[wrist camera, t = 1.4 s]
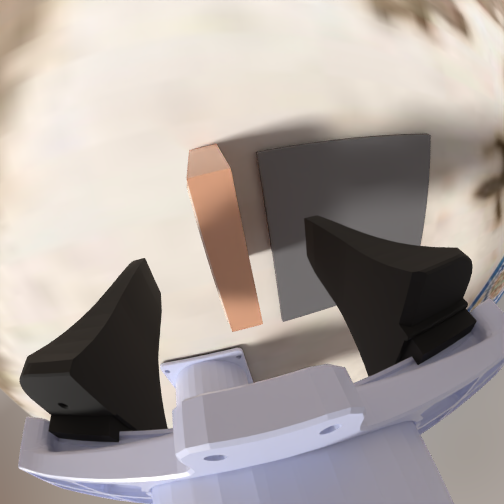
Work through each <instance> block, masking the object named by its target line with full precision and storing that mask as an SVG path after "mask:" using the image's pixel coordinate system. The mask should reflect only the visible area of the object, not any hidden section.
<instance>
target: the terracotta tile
mask: <svg viewBox="0 0 504 504" xmlns="http://www.w3.org/2000/svg"><path fill="white" fill-rule="evenodd" d="M187 190H188V193H189V197H190V201H191V204H192V208H193V211H194V215H195V218H196V222H197V225H198V229H199V232H200V236H201V239H202V242H203V246H204V249H205V252H206V256H207V259H208V262H209V265H210V269H211V272H212V275H213V278H214V281H215V285H216V288H217V291H218V294H219V297H220V300H221V303H222V306H223V309H224V312H225V315H226V318H227V321H228V322H229V323H230V326H231V329H232V332H234V331H238V330H242V329H246V328H250V327H254V326H257V325H261V324H263V322H262V317H261V312H260V308H259V303H258V298H257V293H256V288H255V284H254V279H253V274H252V269H251V265H250V260H249V255H248V250H247V245H246V240H245V236H244V231H243V226H242V221H241V216H240V211H239V207H238V202H237V197H236V192H235V187H234V182H233V177H232V172H231V168H230V166H229V164H228V163H227V161H226V159H225V158H224V156H223V154H222V153H221V151H220V149H219V148H218V146H217V144H213V145H209V146H205V147H201V148H197V149H193V150H189V157H188V168H187Z"/></svg>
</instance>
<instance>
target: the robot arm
mask: <svg viewBox="0 0 504 504" xmlns="http://www.w3.org/2000/svg"><path fill="white" fill-rule="evenodd" d="M304 224H305V237H306V251H307V258H308V260H309V262H310V264H311V266H312V268H313V270H314V272H315V274H316V275H317V277H318V278H319V280H320V281H321V283H322V284H323V286H324V287H325V289H326V290H327V292H328V293H329V295H330V296H331V298H332V299H333V301H334V302H335V304H336V305H337V307H338V308H339V310H340V312H341V313H342V315H343V317H344V319H345V321H346V323H347V325H348V327H349V330H350V332H351V334H352V336H353V338H354V341H355V343H356V345H357V347H358V350H359V352H360V355H361V357H362V360H363V362H364V365H365V368H366V371H367V373H368V376H369V377H367V378H365V379H362V380H360V381H358V382H355V383H353V382H352V380H351V378H350V376H349V374H348V372H347V370H346V368H345V367H340V366H335V365H331V364H323V365H318V366H313V367H307V368H304V369H301V370H297V371H294V372H291V373H287V374H284V375H281V376H277V377H273V378H270V379H266V380H262V381H258V382H253V379H252V377H251V374H250V371H249V368H248V365H247V362H246V359H245V356H244V353H243V350H242V349H241V348H233V349H229V350H225V351H221V352H216V353H212V354H207V355H202V356H197V357H192V358H187V359H182V360H177V361H171V362H166V363H162V364H161V365H160V368H161V370H162V372H163V373H164V374H165V376H166V377H167V378H168V379H169V381H170V382H171V383H172V385H173V386H174V387H175V389H176V405H177V407H176V408H175V409H174V410H173V411H172V416H173V428H171V429H168V428H167V424H166V419H165V414H164V408H163V402H162V396H161V387H160V378H159V365H158V351H159V337H160V325H161V313H162V309H161V293H160V290H159V288H158V286H157V284H156V282H155V280H154V277H153V275H152V273H151V271H150V268H149V266H148V264H147V262H146V259H145V258H143V259H139V260H135V261H132V262H131V263H130V264H129V265H128V266H127V267H126V269H125V270H124V271H123V272H122V273H121V275H120V276H119V277H118V278H117V279H116V281H115V282H114V283H113V284H112V285H111V287H110V288H109V289H108V290H107V291H106V292H105V294H104V295H103V296H102V297H101V298H100V299H99V300H98V302H97V303H96V304H95V305H94V306H93V307H92V308H91V309H90V310H89V311H88V312H87V313H86V314H85V315H84V316H83V317H82V318H81V319H80V320H79V321H77V322H76V323H75V324H74V325H73V326H71V327H70V328H69V329H68V330H67V331H66V332H64V333H63V334H62V335H60V336H59V337H58V338H56V339H55V340H53V341H52V342H51V343H49V344H48V345H46V346H45V347H43V348H41V349H40V350H38V351H36V352H35V353H33V354H31V355H29V356H28V357H27V359H26V362H25V364H24V367H23V370H22V373H21V376H20V381H19V382H20V384H21V387H22V389H23V390H24V391H25V393H26V394H27V395H28V396H29V397H30V398H31V399H32V400H33V401H35V402H36V403H37V404H38V405H39V406H41V407H42V408H43V409H44V410H46V411H47V412H48V413H49V414H51V419H50V421H48V420H46V419H42V418H35V417H26V421H25V426H24V431H23V437H22V443H21V449H20V456H19V466H18V467H19V468H20V469H21V470H23V471H25V472H28V473H29V474H31V475H33V476H35V477H37V478H39V479H41V480H44V481H46V482H48V483H50V484H53V485H55V486H57V487H60V488H63V489H67V490H71V491H75V492H79V493H83V494H88V495H93V496H98V497H103V498H108V499H114V500H121V501H128V502H136V503H146V504H454V503H453V501H452V498H451V496H450V494H449V492H448V490H447V487H446V485H445V483H444V481H443V479H442V477H441V475H440V473H439V471H438V469H437V467H436V465H435V463H434V461H433V459H432V457H431V455H430V453H429V451H428V449H427V447H426V445H425V443H424V441H423V439H422V437H421V434H422V433H424V432H425V431H427V430H428V429H430V428H431V427H432V426H434V425H435V424H437V423H438V422H439V421H441V420H442V419H444V418H445V417H446V416H448V415H449V414H450V413H452V412H453V411H454V410H455V409H457V408H458V407H459V406H460V405H462V404H463V403H464V402H465V401H467V400H468V399H469V398H470V397H471V396H472V395H474V394H475V393H476V392H477V391H478V390H479V389H481V388H482V387H483V386H484V385H485V384H486V383H487V382H488V381H490V380H491V379H492V378H493V377H494V376H495V375H496V374H497V373H498V372H499V370H500V369H501V368H502V367H503V365H504V312H503V311H502V310H501V309H500V308H499V307H498V306H497V305H496V304H495V303H494V302H493V301H492V300H491V299H490V298H488V299H487V300H485V301H484V302H482V303H481V304H480V305H478V306H477V307H475V308H474V309H473V310H472V312H471V313H469V312H468V311H467V310H466V308H467V306H468V303H467V302H466V301H465V300H464V299H463V297H464V294H465V292H466V289H467V286H468V284H469V281H470V278H471V274H472V261H471V259H470V258H469V257H468V256H467V255H466V254H464V253H463V252H462V251H461V250H460V249H458V248H445V247H426V246H417V245H410V244H404V243H399V242H394V241H390V240H386V239H382V238H378V237H375V236H372V235H369V234H366V233H363V232H360V231H357V230H355V229H352V228H349V227H347V226H344V225H342V224H339V223H337V222H334V221H332V220H329V219H327V218H324V217H321V216H318V215H316V216H311V217H307V218H304Z"/></svg>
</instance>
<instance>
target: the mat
mask: <svg viewBox="0 0 504 504" xmlns="http://www.w3.org/2000/svg"><path fill="white" fill-rule="evenodd" d="M256 154H257V160H258V166H259V172H260V178H261V184H262V190H263V196H264V202H265V209H266V215H267V221H268V228H269V234H270V241H271V247H272V254H273V261H274V268H275V274H276V281H277V288H278V295H279V302H280V310H281V317H282V321H283V322H284V321H288V320H291V319H294V318H298V317H301V316H305V315H308V314H311V313H314V312H317V311H321V310H324V309H327V308H330V307H333V306H336V304H335V302H334V301H333V299H332V298H331V296H330V295H329V293H328V292H327V290H326V289H325V287H324V286H323V284H322V283H321V281H320V280H319V278H318V277H317V275H316V274H315V272H314V270H313V268H312V266H311V264H310V262H309V260H308V258H307V251H306V237H305V224H304V218H307V217H311V216H316V215H318V216H321V217H324V218H327V219H329V220H332V221H334V222H337V223H339V224H342V225H344V226H347V227H349V228H352V229H355V230H357V231H360V232H363V233H366V234H369V235H372V236H375V237H378V238H382V239H386V240H390V241H394V242H399V243H404V244H410V245H417V246H420V244H421V238H422V232H423V226H424V219H425V212H426V203H427V194H428V183H429V168H430V135H429V134H404V135H385V136H370V137H359V138H348V139H339V140H330V141H322V142H315V143H308V144H301V145H294V146H288V147H282V148H276V149H271V150H265V151H260V152H256Z"/></svg>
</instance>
